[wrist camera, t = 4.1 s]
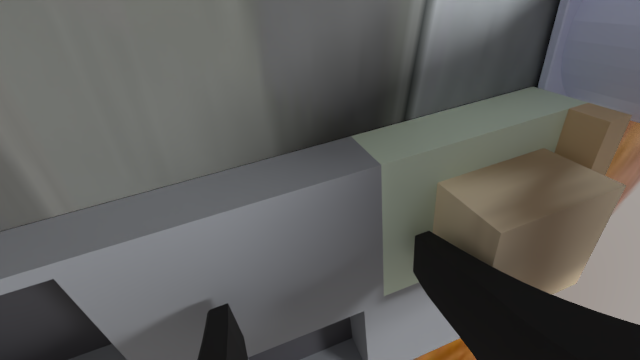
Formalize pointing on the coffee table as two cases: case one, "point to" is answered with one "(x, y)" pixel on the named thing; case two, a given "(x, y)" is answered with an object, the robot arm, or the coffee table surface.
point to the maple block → (528, 216)
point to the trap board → (277, 244)
